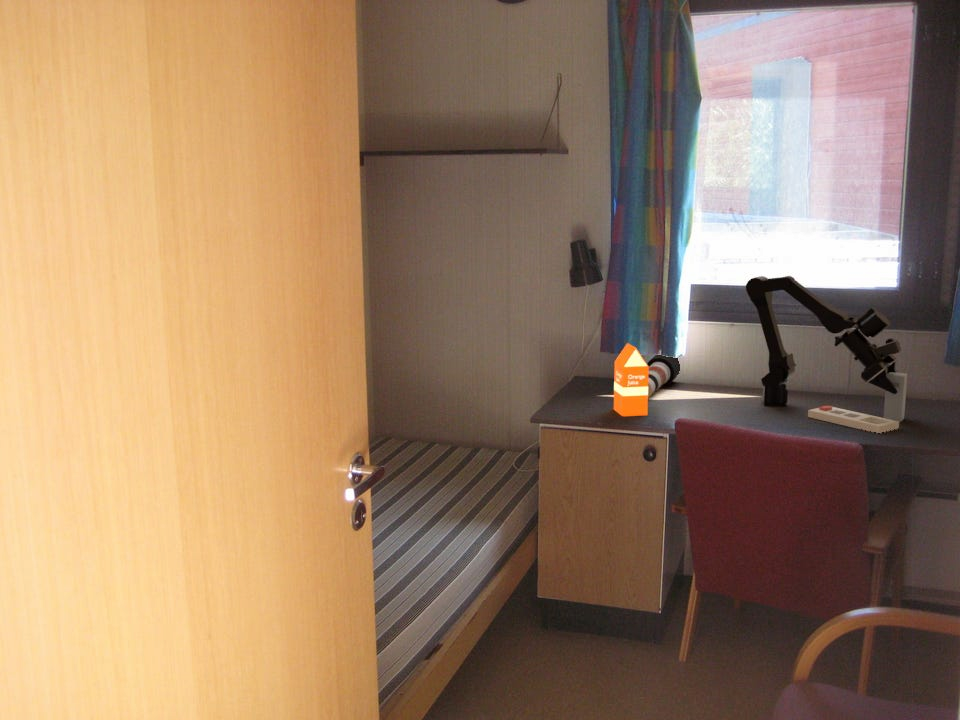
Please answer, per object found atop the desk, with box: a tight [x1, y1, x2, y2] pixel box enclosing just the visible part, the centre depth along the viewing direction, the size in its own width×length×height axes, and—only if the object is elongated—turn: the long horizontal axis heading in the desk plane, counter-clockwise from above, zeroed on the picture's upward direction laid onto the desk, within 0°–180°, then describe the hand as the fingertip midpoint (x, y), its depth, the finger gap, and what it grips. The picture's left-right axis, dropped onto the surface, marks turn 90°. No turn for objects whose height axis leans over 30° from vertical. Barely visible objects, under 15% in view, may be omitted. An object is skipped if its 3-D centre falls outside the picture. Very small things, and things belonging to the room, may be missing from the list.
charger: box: [883, 372, 908, 423], centre depth 260 cm, size 5×5×13 cm
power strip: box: [807, 405, 900, 434], centre depth 257 cm, size 22×9×3 cm, turn 33°
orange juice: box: [613, 342, 649, 417], centre depth 270 cm, size 8×9×20 cm
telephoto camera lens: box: [646, 354, 680, 398], centre depth 299 cm, size 10×34×10 cm, turn 153°
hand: (899, 390), depth 259 cm, fingers open, 9 cm apart
